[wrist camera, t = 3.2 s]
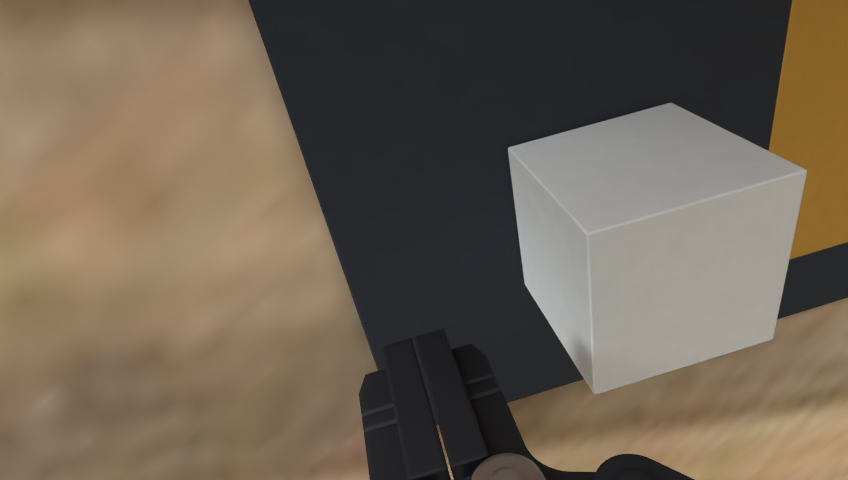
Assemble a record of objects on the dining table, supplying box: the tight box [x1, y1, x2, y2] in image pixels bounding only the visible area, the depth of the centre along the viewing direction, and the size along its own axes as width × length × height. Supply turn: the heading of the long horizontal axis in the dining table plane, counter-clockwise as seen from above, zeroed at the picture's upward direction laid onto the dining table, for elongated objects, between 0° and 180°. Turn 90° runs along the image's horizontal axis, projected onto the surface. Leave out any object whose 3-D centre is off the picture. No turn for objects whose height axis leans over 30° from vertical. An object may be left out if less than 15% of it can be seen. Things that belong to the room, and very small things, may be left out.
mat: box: [249, 0, 848, 425], centre depth 18 cm, size 16×28×1 cm, turn 102°
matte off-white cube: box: [508, 103, 807, 395], centre depth 15 cm, size 5×5×5 cm
